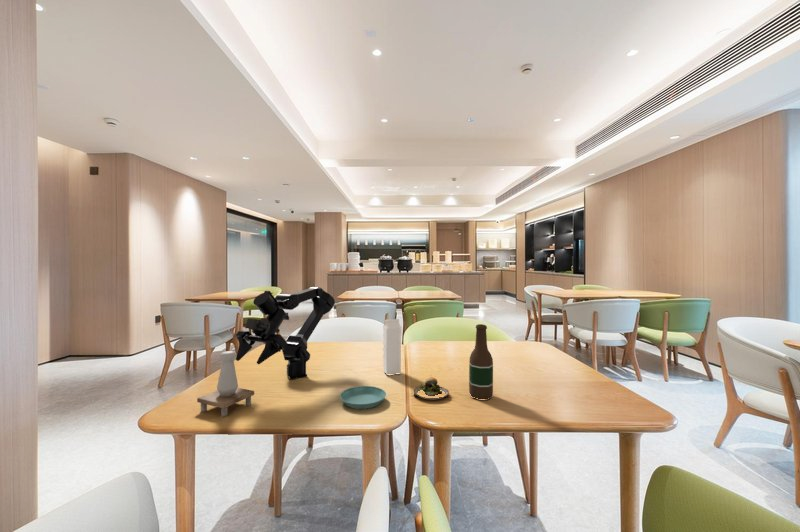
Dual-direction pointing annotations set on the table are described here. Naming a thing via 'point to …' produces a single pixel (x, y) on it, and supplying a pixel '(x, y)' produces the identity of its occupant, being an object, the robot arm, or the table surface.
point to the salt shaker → (227, 375)
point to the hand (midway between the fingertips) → (247, 362)
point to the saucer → (363, 397)
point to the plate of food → (431, 389)
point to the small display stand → (225, 400)
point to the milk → (392, 346)
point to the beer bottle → (481, 367)
